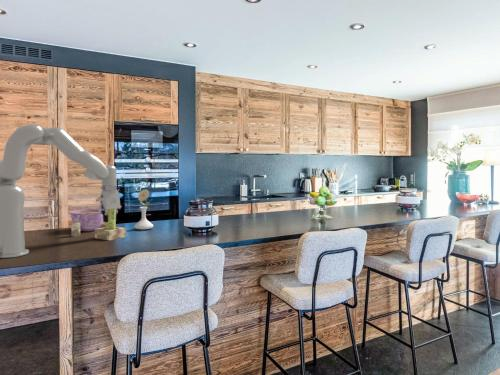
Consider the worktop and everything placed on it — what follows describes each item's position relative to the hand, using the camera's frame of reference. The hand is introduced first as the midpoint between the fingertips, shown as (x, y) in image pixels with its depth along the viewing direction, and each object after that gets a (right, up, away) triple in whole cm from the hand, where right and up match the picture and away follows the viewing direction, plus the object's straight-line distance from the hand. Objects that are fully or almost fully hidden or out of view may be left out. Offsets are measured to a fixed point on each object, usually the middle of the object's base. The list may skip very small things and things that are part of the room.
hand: (110, 220), depth 195 cm
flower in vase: (+11, -8, +25) cm, 29 cm away
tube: (0, -7, +1) cm, 7 cm away
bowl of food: (-22, -8, +23) cm, 33 cm away
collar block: (0, -9, +1) cm, 9 cm away
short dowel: (-21, -9, +5) cm, 24 cm away
